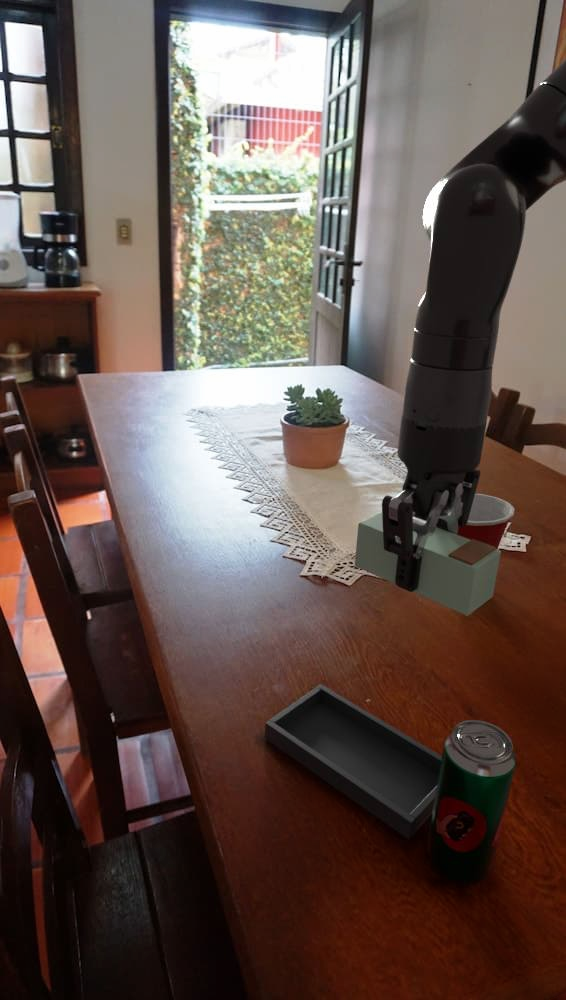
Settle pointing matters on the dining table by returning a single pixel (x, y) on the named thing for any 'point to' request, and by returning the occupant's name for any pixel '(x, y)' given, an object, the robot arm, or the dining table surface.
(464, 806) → the soda can
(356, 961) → the dining table surface
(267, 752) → the dining table surface
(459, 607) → the pencil box
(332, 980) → the dining table surface
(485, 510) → the plastic cup
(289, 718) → the tray
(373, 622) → the dining table surface
